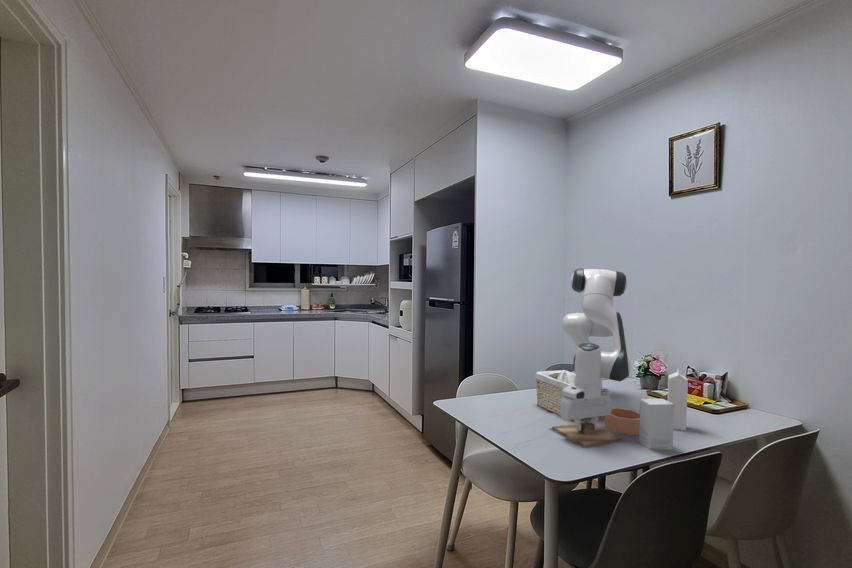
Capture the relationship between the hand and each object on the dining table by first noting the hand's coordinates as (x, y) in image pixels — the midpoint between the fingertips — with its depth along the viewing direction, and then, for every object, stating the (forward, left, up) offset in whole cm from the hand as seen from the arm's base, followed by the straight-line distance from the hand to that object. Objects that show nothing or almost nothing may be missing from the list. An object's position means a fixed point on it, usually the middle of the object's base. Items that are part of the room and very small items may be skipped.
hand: (585, 429), depth 146 cm
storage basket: (-25, +13, -3) cm, 28 cm away
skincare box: (+15, +16, -3) cm, 22 cm away
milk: (+3, +41, -3) cm, 41 cm away
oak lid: (0, 0, -2) cm, 2 cm away
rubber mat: (0, 0, -2) cm, 2 cm away
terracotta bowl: (-1, +19, -2) cm, 19 cm away
